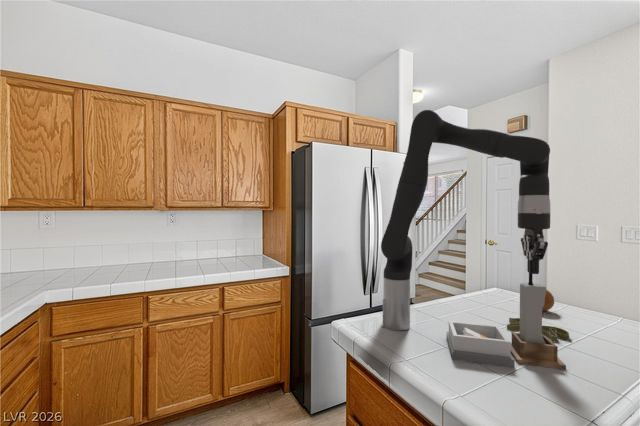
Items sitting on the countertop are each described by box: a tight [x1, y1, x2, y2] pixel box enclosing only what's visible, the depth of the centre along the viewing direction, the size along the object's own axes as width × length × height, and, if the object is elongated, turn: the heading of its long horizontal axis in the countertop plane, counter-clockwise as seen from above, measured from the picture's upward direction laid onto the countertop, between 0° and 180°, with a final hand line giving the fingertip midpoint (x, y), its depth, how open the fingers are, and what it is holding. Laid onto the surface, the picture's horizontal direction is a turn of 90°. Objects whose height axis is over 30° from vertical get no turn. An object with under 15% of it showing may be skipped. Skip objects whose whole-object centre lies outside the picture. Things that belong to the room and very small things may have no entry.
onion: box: [542, 288, 555, 313], centre depth 125 cm, size 10×10×10 cm
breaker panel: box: [446, 320, 516, 368], centre depth 88 cm, size 15×15×6 cm
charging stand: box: [511, 331, 567, 370], centre depth 85 cm, size 11×11×5 cm
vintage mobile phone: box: [519, 272, 547, 344], centre depth 85 cm, size 4×5×25 cm
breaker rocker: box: [463, 327, 487, 338], centre depth 88 cm, size 7×4×2 cm, turn 73°
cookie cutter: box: [506, 317, 570, 343], centre depth 103 cm, size 18×12×2 cm, turn 41°
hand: (533, 273), depth 85 cm, fingers closed on vintage mobile phone, 1 cm apart
